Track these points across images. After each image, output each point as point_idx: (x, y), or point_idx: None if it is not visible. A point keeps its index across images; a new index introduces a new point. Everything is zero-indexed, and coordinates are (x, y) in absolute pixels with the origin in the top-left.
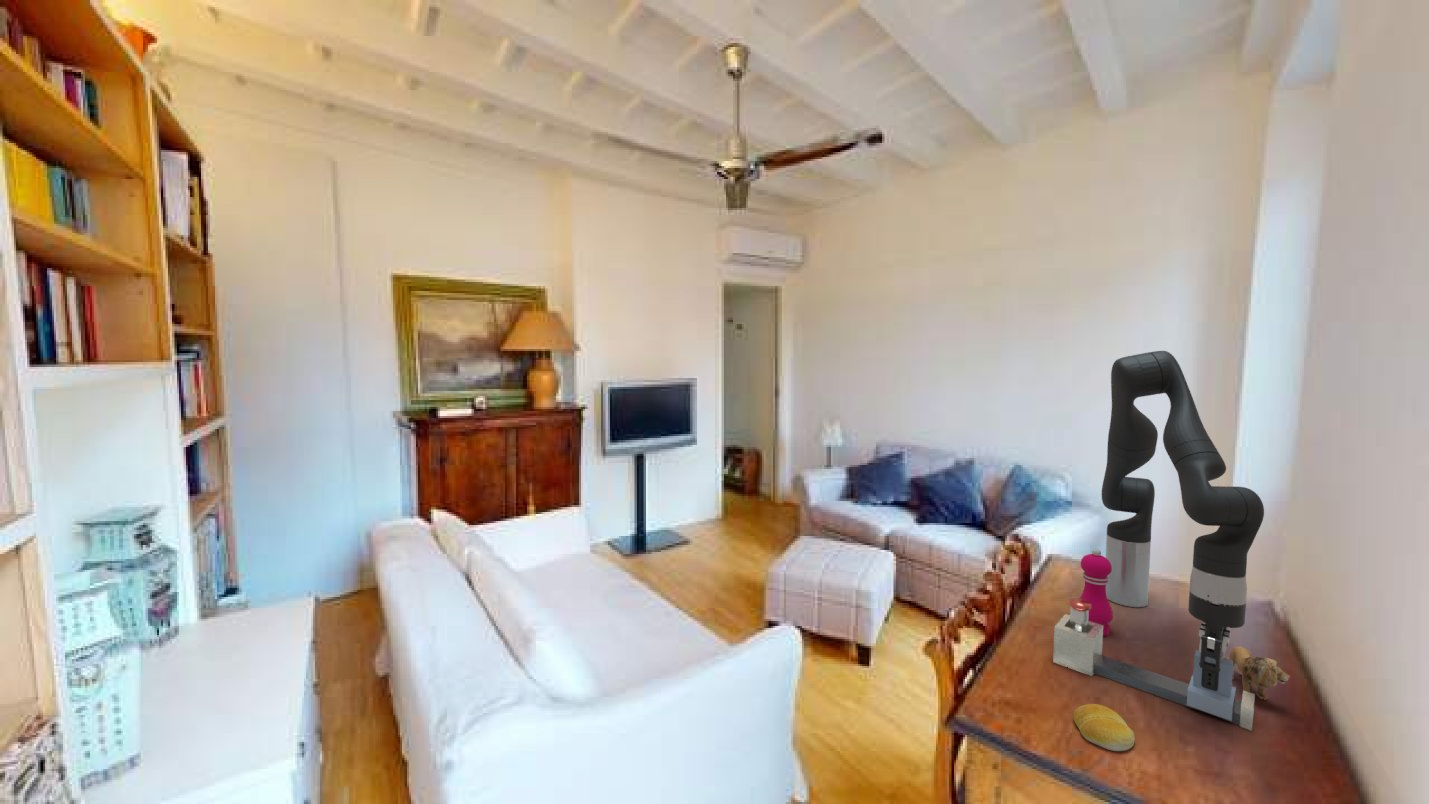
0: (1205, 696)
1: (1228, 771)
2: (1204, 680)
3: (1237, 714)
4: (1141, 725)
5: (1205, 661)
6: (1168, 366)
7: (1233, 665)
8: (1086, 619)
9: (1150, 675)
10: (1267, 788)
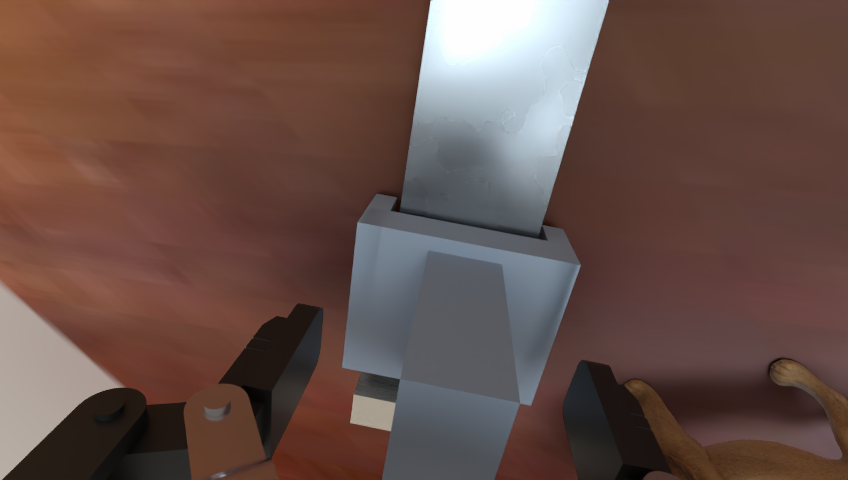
0: (353, 285)
1: (64, 261)
2: (253, 339)
3: None
4: (94, 2)
5: (166, 452)
6: None
7: (832, 428)
8: None
9: (534, 46)
10: (74, 333)
